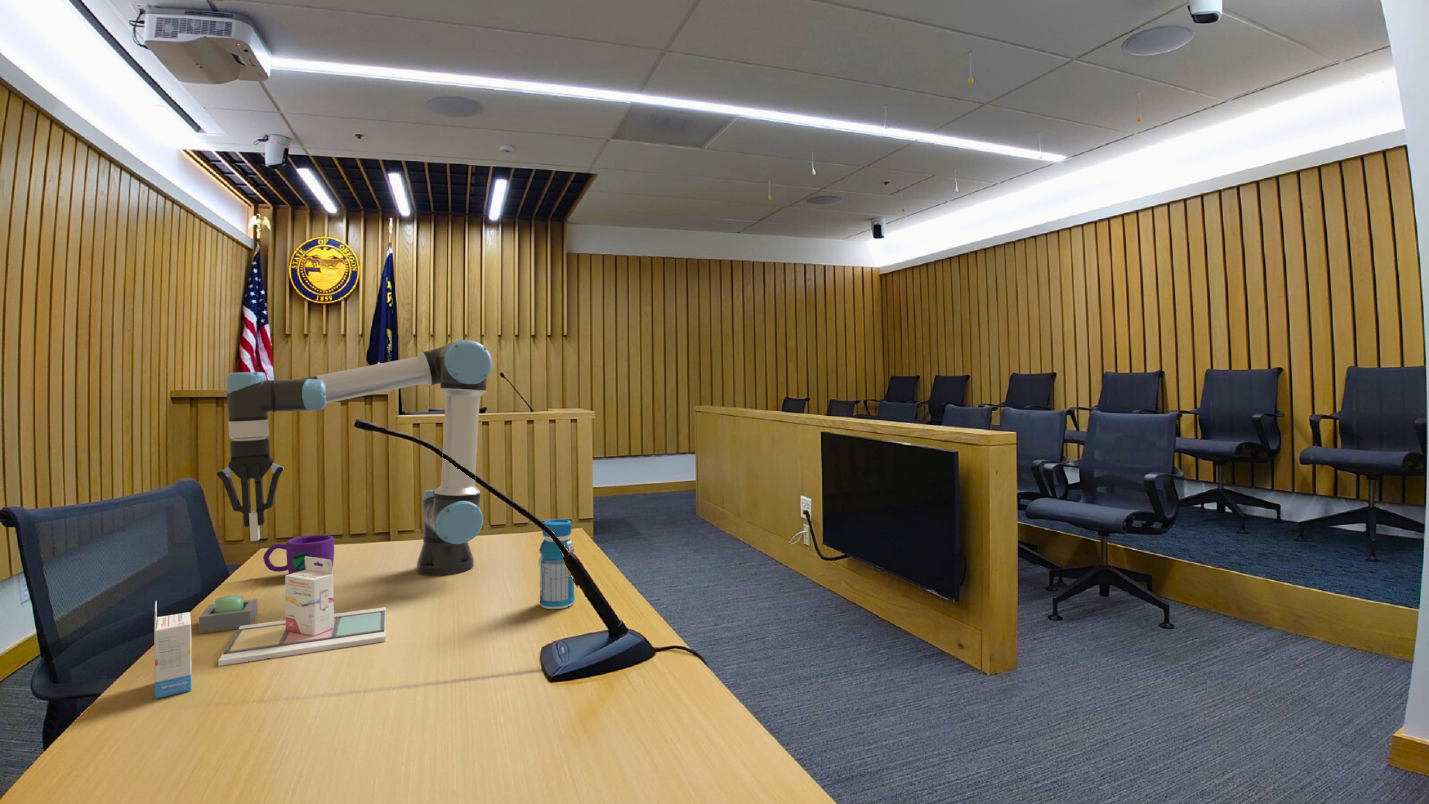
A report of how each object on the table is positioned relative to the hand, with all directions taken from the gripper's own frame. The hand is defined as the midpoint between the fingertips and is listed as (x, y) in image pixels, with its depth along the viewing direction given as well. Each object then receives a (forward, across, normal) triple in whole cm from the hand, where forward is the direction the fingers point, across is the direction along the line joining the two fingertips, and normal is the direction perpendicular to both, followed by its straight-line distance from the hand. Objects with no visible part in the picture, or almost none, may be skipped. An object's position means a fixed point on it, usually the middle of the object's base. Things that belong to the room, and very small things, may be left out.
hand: (255, 539), depth 155 cm
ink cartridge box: (+16, -12, +24) cm, 31 cm away
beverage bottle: (+19, -63, +28) cm, 71 cm away
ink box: (+16, +7, +41) cm, 45 cm away
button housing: (+16, +4, +8) cm, 19 cm away
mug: (+17, -5, -29) cm, 34 cm away
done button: (+16, +4, +8) cm, 18 cm away
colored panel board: (+17, -12, +24) cm, 32 cm away
